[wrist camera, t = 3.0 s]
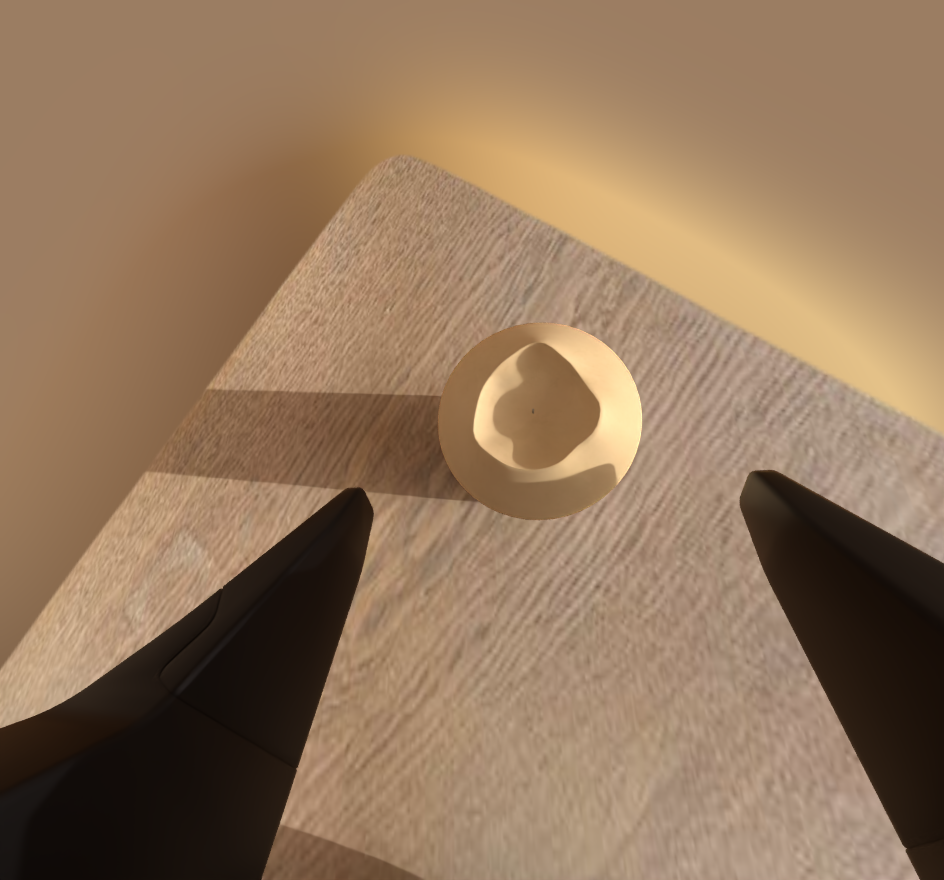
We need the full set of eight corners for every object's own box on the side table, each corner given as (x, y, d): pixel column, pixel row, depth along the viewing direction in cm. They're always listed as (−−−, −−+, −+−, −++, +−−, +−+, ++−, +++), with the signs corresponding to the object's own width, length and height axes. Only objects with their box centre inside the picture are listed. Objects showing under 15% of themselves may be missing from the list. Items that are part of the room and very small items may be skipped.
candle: (500, 390, 19) (448, 283, 9) (608, 409, 18) (679, 308, 8) (476, 493, 19) (396, 492, 9) (586, 520, 17) (633, 554, 8)
